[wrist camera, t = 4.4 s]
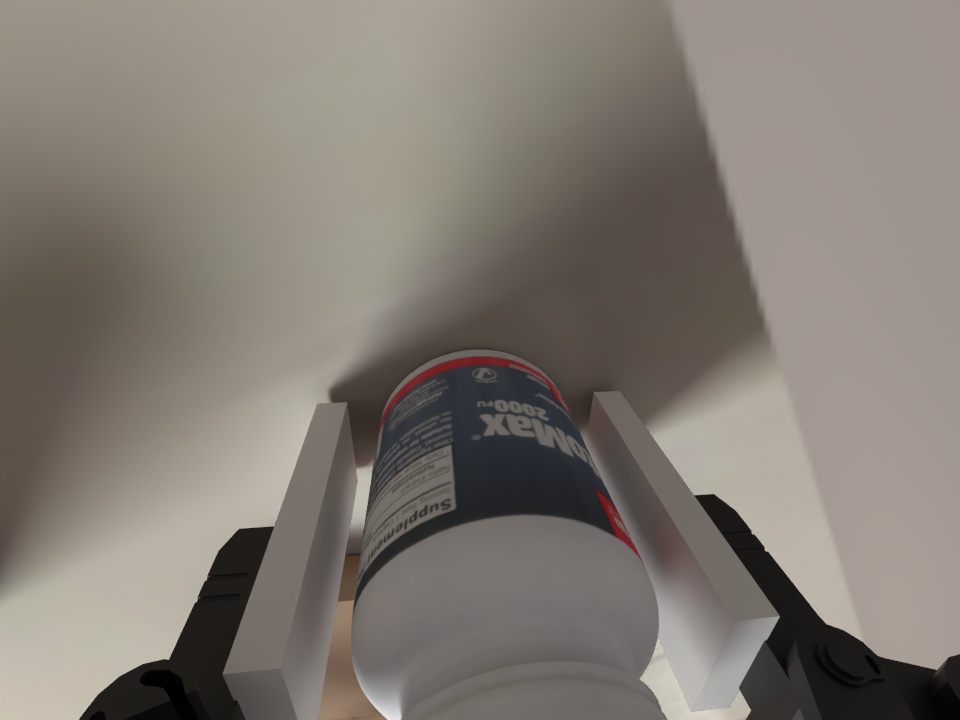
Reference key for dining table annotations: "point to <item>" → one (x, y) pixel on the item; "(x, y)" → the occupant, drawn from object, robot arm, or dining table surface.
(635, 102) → the dining table surface
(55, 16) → the dining table surface
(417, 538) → the pill bottle
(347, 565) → the board
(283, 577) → the robot arm
